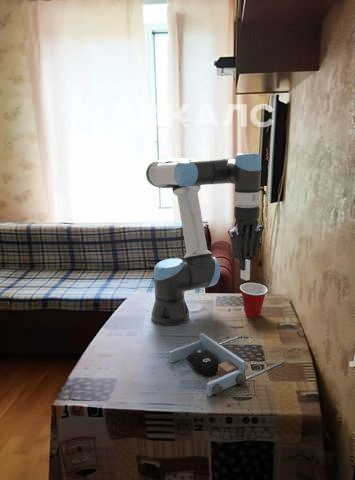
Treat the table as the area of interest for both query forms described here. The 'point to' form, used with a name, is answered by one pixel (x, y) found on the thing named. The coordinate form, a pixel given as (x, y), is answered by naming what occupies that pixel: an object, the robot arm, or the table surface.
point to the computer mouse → (203, 363)
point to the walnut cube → (226, 368)
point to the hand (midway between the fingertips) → (245, 278)
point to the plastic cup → (253, 298)
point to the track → (254, 373)
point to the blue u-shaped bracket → (221, 357)
